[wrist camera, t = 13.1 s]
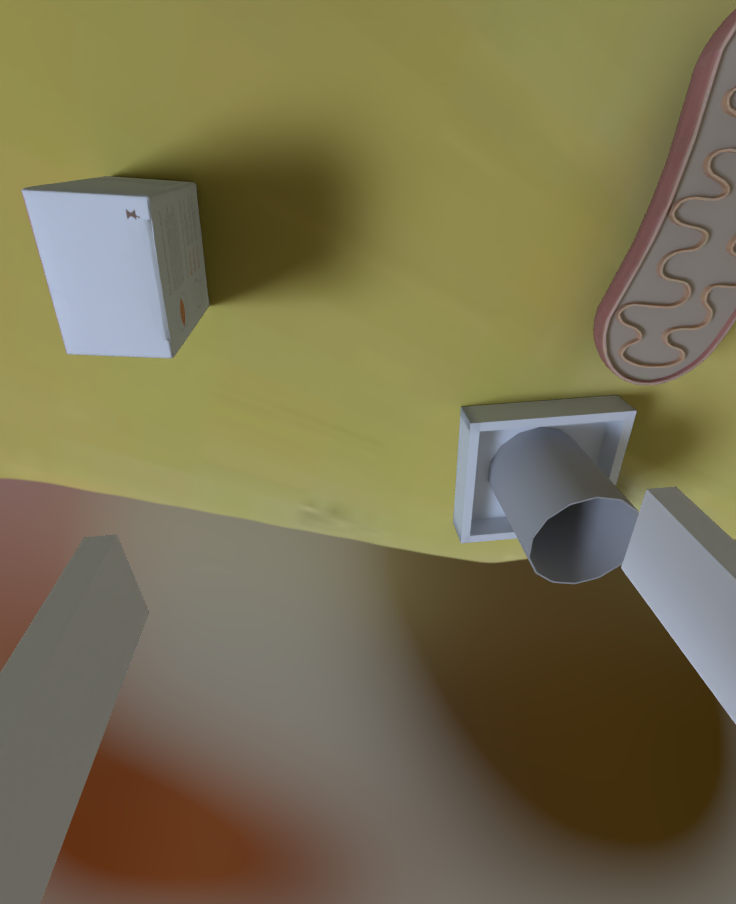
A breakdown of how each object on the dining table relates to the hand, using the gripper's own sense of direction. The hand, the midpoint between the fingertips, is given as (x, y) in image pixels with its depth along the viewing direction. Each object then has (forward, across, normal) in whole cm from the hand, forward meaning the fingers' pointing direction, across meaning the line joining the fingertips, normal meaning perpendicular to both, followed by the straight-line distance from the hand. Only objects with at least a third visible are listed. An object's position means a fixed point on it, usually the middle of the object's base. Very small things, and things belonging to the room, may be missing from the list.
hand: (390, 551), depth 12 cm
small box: (+27, -12, +4) cm, 30 cm away
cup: (+26, +16, -16) cm, 35 cm away
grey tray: (+27, +16, -16) cm, 35 cm away
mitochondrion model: (+27, +24, +4) cm, 36 cm away
